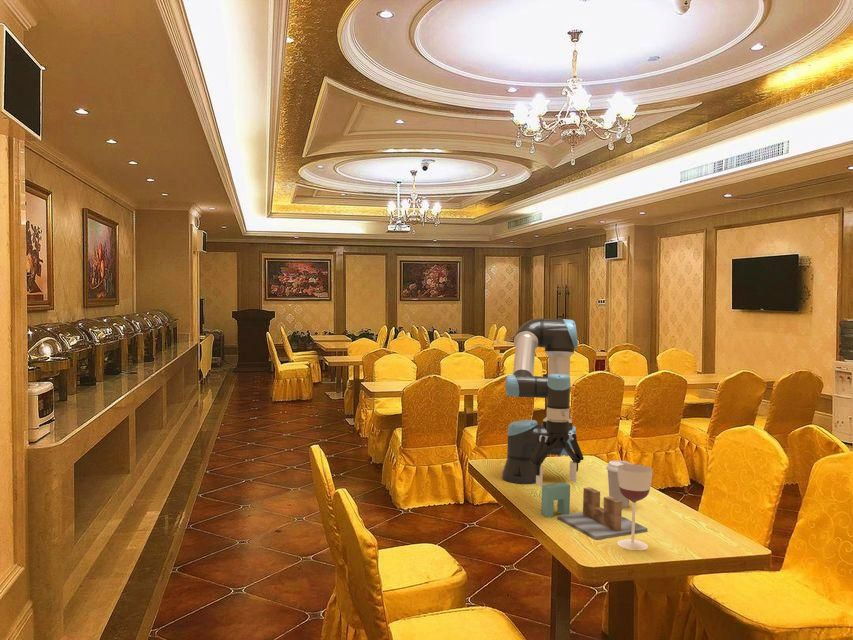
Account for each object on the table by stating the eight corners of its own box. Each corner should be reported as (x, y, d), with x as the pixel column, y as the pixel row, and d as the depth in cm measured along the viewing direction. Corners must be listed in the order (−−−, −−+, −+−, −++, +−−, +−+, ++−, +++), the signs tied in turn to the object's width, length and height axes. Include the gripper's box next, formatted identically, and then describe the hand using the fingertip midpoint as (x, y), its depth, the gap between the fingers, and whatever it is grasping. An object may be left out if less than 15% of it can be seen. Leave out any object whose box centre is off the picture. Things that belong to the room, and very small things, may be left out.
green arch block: (541, 514, 220) (541, 484, 220) (563, 511, 224) (564, 482, 224) (547, 517, 217) (547, 487, 217) (569, 514, 221) (570, 485, 220)
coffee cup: (634, 510, 226) (636, 467, 225) (606, 508, 228) (607, 465, 227) (631, 502, 235) (633, 461, 235) (604, 500, 237) (605, 459, 237)
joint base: (557, 518, 216) (558, 488, 216) (606, 511, 224) (606, 482, 224) (595, 539, 198) (596, 507, 197) (647, 531, 206) (648, 500, 205)
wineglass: (610, 539, 199) (612, 464, 198) (642, 538, 200) (644, 464, 199) (622, 550, 190) (624, 472, 189) (655, 550, 191) (658, 472, 190)
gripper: (532, 424, 211) (530, 489, 211) (595, 420, 221) (593, 482, 221) (520, 420, 218) (518, 483, 218) (581, 416, 228) (579, 477, 228)
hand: (556, 483), depth 220 cm, fingers open, 13 cm apart
